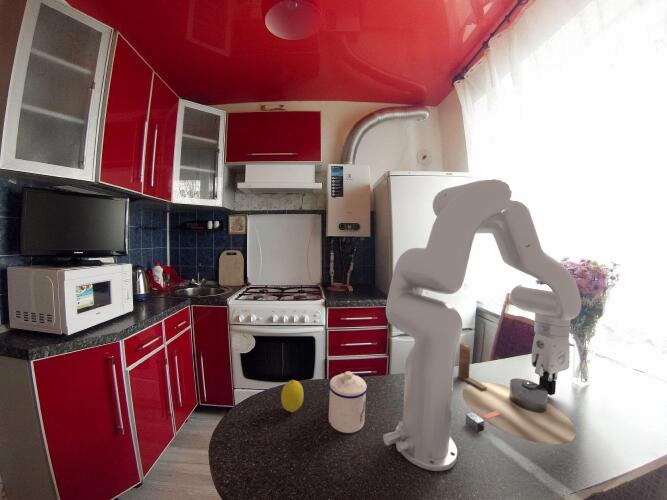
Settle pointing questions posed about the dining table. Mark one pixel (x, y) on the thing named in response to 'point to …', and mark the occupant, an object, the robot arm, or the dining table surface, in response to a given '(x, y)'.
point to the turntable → (512, 409)
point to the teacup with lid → (347, 402)
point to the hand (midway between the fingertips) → (546, 392)
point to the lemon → (292, 396)
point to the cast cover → (528, 395)
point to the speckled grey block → (475, 422)
